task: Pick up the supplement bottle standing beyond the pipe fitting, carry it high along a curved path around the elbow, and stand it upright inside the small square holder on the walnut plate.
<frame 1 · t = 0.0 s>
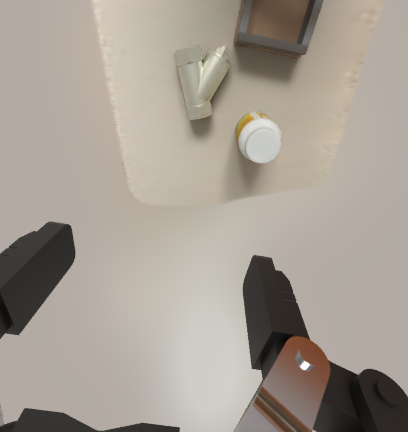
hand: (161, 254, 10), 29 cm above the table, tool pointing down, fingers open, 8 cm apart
square holder: (277, 8, 28), on the table
supplement bottle: (252, 129, 35), on the table
pipe fitting: (207, 81, 33), on the table
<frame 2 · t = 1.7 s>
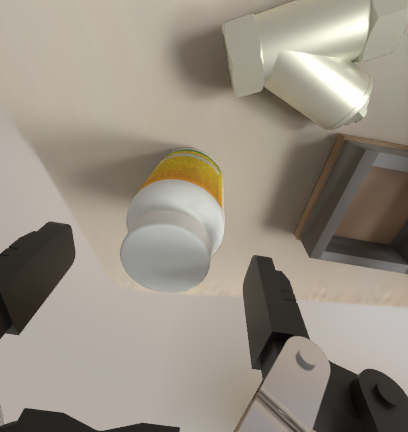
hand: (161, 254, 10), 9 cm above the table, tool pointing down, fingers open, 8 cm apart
square holder: (366, 199, 18), on the table
supplement bottle: (189, 179, 19), on the table
pipe fitting: (294, 74, 15), on the table
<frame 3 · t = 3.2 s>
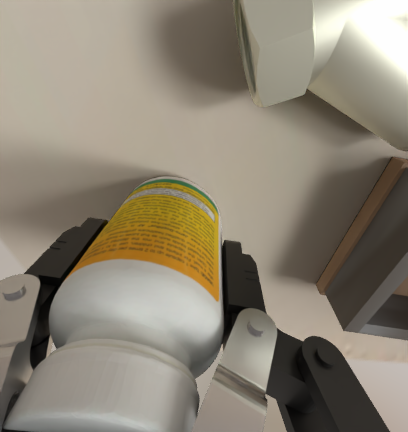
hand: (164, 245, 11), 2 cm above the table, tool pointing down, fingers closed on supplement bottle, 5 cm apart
supplement bottle: (174, 216, 13), on the table, touching gripper
pipe fitting: (345, 64, 9), on the table
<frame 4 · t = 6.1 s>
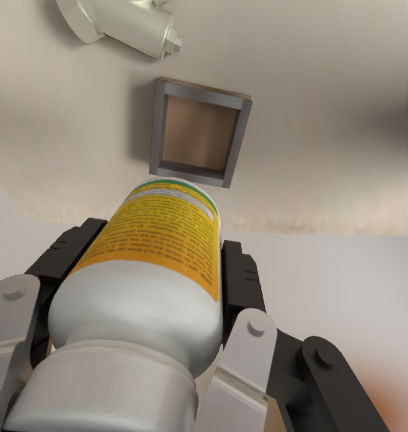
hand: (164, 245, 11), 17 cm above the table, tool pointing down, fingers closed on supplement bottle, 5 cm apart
square holder: (198, 132, 24), on the table
supplement bottle: (173, 216, 13), point 14 cm above the table, touching gripper
pipe fitting: (135, 24, 20), on the table
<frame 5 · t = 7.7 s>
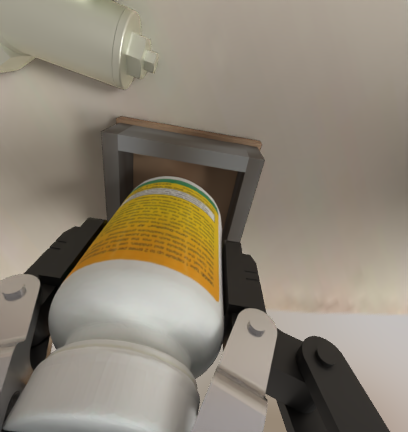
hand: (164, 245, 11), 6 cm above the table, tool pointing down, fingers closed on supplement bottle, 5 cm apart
square holder: (183, 191, 17), on the table
supplement bottle: (173, 215, 13), point 4 cm above the table, touching gripper
pipe fitting: (83, 33, 13), on the table
when the fingers open (5 cm above the table, at t = 8.9 s): supplement bottle drops 1 cm, resting on square holder.
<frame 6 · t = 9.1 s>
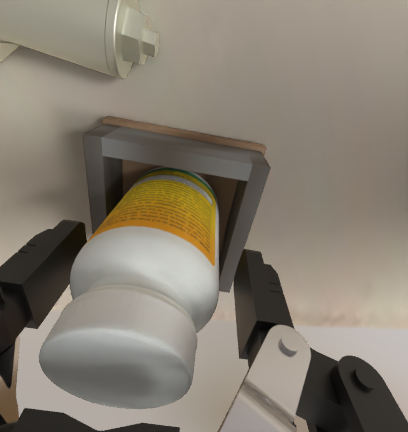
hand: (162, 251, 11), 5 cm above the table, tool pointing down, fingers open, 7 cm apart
square holder: (178, 199, 15), on the table
supplement bottle: (175, 203, 14), point 1 cm above the table, touching square holder
pipe fitting: (72, 16, 11), on the table
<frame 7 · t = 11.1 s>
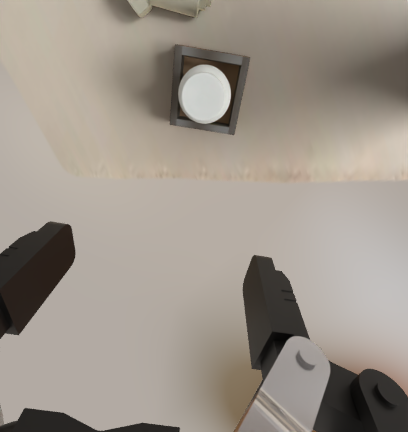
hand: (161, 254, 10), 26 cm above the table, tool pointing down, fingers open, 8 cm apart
square holder: (208, 91, 30), on the table
supplement bottle: (207, 91, 30), point 1 cm above the table, touching square holder
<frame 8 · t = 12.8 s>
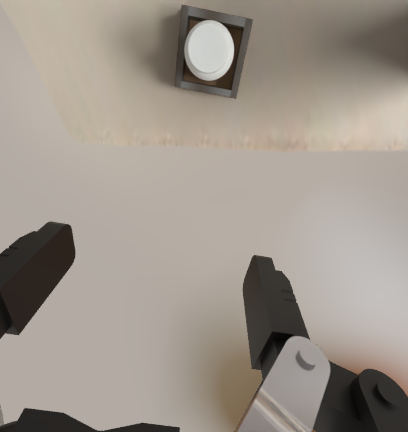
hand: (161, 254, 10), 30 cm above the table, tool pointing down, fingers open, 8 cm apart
square holder: (211, 56, 31), on the table
supplement bottle: (210, 56, 31), point 1 cm above the table, touching square holder
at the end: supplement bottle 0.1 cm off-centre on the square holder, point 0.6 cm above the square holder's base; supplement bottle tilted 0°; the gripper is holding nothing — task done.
